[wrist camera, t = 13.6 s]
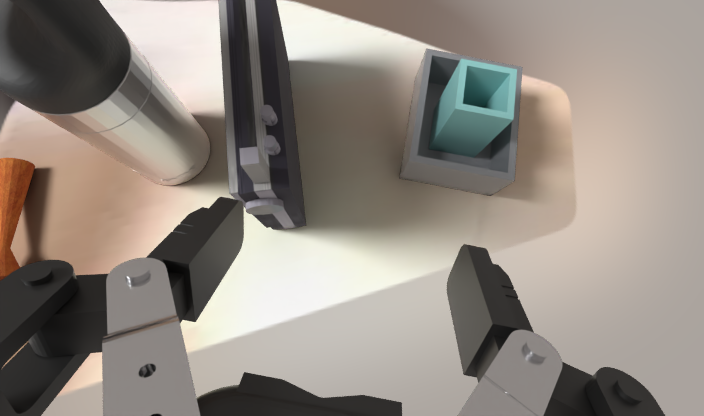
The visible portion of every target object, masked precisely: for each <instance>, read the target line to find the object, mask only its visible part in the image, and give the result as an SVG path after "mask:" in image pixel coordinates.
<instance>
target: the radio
mask: <svg viewBox="0 0 704 416" xmlns="http://www.w3.org/2000/svg"><path fill="white" fill-rule="evenodd" d="M218 1H219V19H220V36H221V54H222V71H223V89H224V106H225V124H226V141H227V158H228V176H229V193H230V194H231V195H232V196H233V197H234V198H235V199H236V200H240V201H242V202H243V206H244V207H245V208H246V212H247V213H249V214H252V215H253V216H255V217H256V218H257V219H258V220H259V221H260V222H261V223H262V224H263V225H264V226H265V227H266V228H267V227H271V228H272V229H273V230H274V229H287V228H295V227H300V226H305V225H306V219H305V210H304V201H303V192H302V183H301V174H300V165H299V156H298V147H297V138H296V129H295V119H294V110H293V101H292V92H291V83H290V74H289V65H288V56H287V52H286V47H285V42H284V37H283V32H282V27H281V22H280V17H279V13H278V8H277V3H276V0H218Z"/></svg>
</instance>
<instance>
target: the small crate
mask: <svg viewBox="0 0 704 416" xmlns="http://www.w3.org/2000/svg"><path fill="white" fill-rule="evenodd" d="M516 78H517V69H513V68H508V67H502V66H497V65H492V64H487V63H482V62H477V61H471V60H466V59H461V60H460V62H459V64H458V66H457V68H456V69H455V71H454V73H453V75H452V77H451V79H450V80H449V82H448V84H447V86H446V88H445V90H444V92H443V93H442V95H441V97H440V99H439V101H438V103H437V105H436V106H435V108H434V115H433V122H432V129H431V136H430V143H429V149H431V150H436V151H441V152H446V153H451V154H457V155H462V156H467V157H472V158H474V157H475V156H476V155H477V154H478V153H479V152H481V151H482V150H483V149H484V148H485V147H486V146H487V145H488V144H489V143H490V142H491V141H492V140H493V139H494V138H495V137H496V136H497V135H498V134H499V133H500V132H501V131H502V130H503V129H504V128H505V127H506V126H507V125H509V124H510V123H511V122H512V121H513V118H514V105H515V91H516Z"/></svg>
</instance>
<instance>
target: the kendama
mask: <svg viewBox="0 0 704 416" xmlns="http://www.w3.org/2000/svg"><path fill="white" fill-rule="evenodd" d="M34 168H35V166H34V164H32V163H30V162H28V161H25V160H22V159H16V158H1V159H0V281H1V280H3V279H4V278H5V277H7V276H8V275H9V274H11V273H12V272H14V271H15V270H17V269H19V268H20V267H19V265H18V263H17V261H16V259H15V257H14V255H13V253H12V251H11V249H10V247H11V244H12V240H13V237H14V234H15V231H16V227H17V224H18V221H19V217H20V214H21V211H22V208H23V204H24V201H25V198H26V194H27V191H28V188H29V185H30V181H31V178H32V175H33V171H34Z"/></svg>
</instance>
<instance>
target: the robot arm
mask: <svg viewBox="0 0 704 416" xmlns="http://www.w3.org/2000/svg"><path fill="white" fill-rule="evenodd" d="M0 90H1V91H2V92H3V93H5V94H6V95H8V96H10V97H11V98H13V99H15V100H16V101H18V102H20V103H21V104H23V105H25V106H26V107H28V108H30V109H32V110H33V111H35V112H37V113H38V114H40V115H42V116H43V117H45V118H47V119H48V120H50V121H52V122H53V123H55V124H57V125H59V126H60V127H62V128H64V129H66V130H67V131H69V132H71V133H72V134H74V135H76V136H77V137H79V138H80V139H82V140H84V141H85V142H87V143H89V144H90V145H92V146H94V147H95V148H97V149H99V150H100V151H102V152H104V153H105V154H107V155H109V156H110V157H112V158H114V159H115V160H117V161H119V162H120V163H122V164H124V165H125V166H127V167H129V168H130V169H132V170H134V171H135V172H137V173H139V174H140V175H142V176H144V177H145V178H147V179H149V180H150V181H153V182H155V183H157V184H161V185H177V184H181V183H184V182H187V181H189V180H190V179H192V178H194V177H195V176H196V175H197V174H198V173H200V172H201V170H202V169H203V168H204V166H205V165H206V163H207V161H208V159H209V154H210V142H209V138H208V136H207V134H206V132H205V131H204V130H203V128H202V127H201V126H200V125H199V123H198V122H197V121H196V120H195V119H194V117H193V116H192V115H191V113H190V112H189V111H188V110H187V109H186V107H185V106H184V105H183V104H182V102H181V101H180V100H179V99H178V98H177V96H176V95H175V94H174V93H173V91H172V90H171V89H170V88H169V86H168V85H167V84H166V83H165V82H164V80H163V79H162V78H161V77H160V75H159V74H158V73H157V72H156V71H155V69H154V68H153V67H152V66H151V64H150V63H149V62H148V61H147V60H146V58H145V57H144V56H143V55H142V54H141V53H140V51H139V50H138V49H137V48H136V46H135V45H134V44H133V43H132V42H131V40H130V39H129V38H128V37H127V35H126V34H125V33H124V32H123V31H122V29H121V28H120V27H119V26H118V24H117V23H116V22H115V21H114V20H113V18H112V17H111V16H110V14H109V13H108V12H107V11H106V9H105V8H104V7H103V5H102V4H101V3H100V1H99V0H0ZM243 236H244V222H243V202H242V201H240V200H235V199H230V198H225V197H219V198H218V199H217V200H216V201H215V202H214V204H213V205H212V206H211V207H210V208H209V209H208V208H203V207H202V208H200V209H198V210H196V211H194V212H192V213H190V214H189V215H188V216H187V217H186V218H185V219H184V220H183V221H182V222H181V224H180V225H178V226H177V227H176V228H175V229H174V230H173V232H171V233H170V234H169V235H168V236H167V237H166V238H165V239H164V240H163V241H162V242H161V243H160V244H159V245H158V246H157V247H156V248H155V249H154V250H153V251H152V252H151V253H150V254H149V255H148V256H147V257H146V258H137V259H132V260H129V261H126V262H124V263H122V264H120V265H118V266H116V267H115V268H114V269H113V270H112V271H111V272H110V273H109V274H97V275H75V273H74V270H73V267H72V266H71V264H69V263H67V262H65V261H61V260H45V261H39V262H35V263H31V264H28V265H26V266H23V267H21V268H19V269H17V270H15V271H14V272H12V273H11V274H9V275H8V276H7V277H5V278H4V279H3V280H1V281H0V416H41V415H42V414H43V412H44V411H45V410H46V408H47V407H48V406H49V405H50V403H51V402H52V401H53V400H54V398H55V397H56V396H57V395H58V393H59V392H60V391H61V390H62V388H63V387H64V386H65V385H66V383H67V382H68V381H69V380H70V378H71V377H72V376H73V375H74V373H75V372H76V371H77V370H78V368H79V367H80V366H81V364H82V363H83V362H84V361H85V359H86V358H87V357H88V356H89V354H90V353H96V352H102V364H103V416H402V403H401V402H396V401H391V400H386V399H381V398H375V397H370V396H365V395H358V396H344V397H331V398H321V397H317V396H315V395H313V394H311V393H309V392H307V391H305V390H303V389H301V388H299V387H297V386H295V385H293V384H291V383H289V382H287V381H285V380H282V379H277V378H272V377H266V376H261V375H256V374H251V373H246V372H244V374H243V377H242V379H241V382H240V384H239V385H233V386H228V387H223V388H219V389H216V390H213V391H211V392H208V393H206V394H204V395H201V396H200V397H198V398H196V394H195V389H194V385H193V380H192V376H191V371H190V367H189V362H188V358H187V353H186V349H185V344H184V340H183V335H182V331H181V326H180V323H181V321H182V320H187V321H192V322H196V320H197V319H198V317H199V316H200V314H201V312H202V311H203V309H204V308H205V306H206V304H207V303H208V301H209V300H210V298H211V296H212V295H213V293H214V292H215V290H216V288H217V287H218V285H219V284H220V282H221V280H222V279H223V277H224V276H225V274H226V272H227V271H228V269H229V268H230V266H231V264H232V263H233V261H234V260H235V258H236V256H237V255H238V253H239V251H240V249H241V246H242V243H243ZM447 295H448V300H449V305H450V310H451V315H452V320H453V325H454V330H455V334H456V339H457V344H458V349H459V354H460V359H461V364H462V369H463V374H464V375H467V376H472V377H477V379H478V385H477V386H476V388H475V389H474V391H473V393H472V394H471V396H470V397H469V399H468V400H467V402H466V403H465V405H464V406H463V408H462V410H461V411H460V413H459V415H458V416H665V414H664V413H663V411H662V410H661V408H660V407H659V405H658V403H657V402H656V400H655V399H654V397H653V396H652V395H651V393H650V392H649V391H648V390H647V389H646V388H645V387H644V386H643V385H642V384H641V383H640V382H638V381H637V380H636V379H634V378H633V377H631V376H630V375H628V374H626V373H624V372H623V371H620V370H618V369H615V368H610V367H603V368H601V369H599V370H598V371H597V372H596V373H595V374H594V375H593V376H592V375H590V374H588V373H585V372H583V371H581V370H579V369H576V368H574V367H572V366H570V365H568V364H566V363H564V362H562V359H561V357H560V355H559V353H558V352H557V350H556V349H555V348H554V347H553V346H552V345H551V344H550V343H549V342H548V341H547V340H546V339H544V338H543V337H541V336H539V335H538V334H535V333H534V332H533V330H532V327H531V325H530V323H529V320H528V318H527V316H526V314H525V312H524V309H523V307H522V305H521V303H520V300H518V296H517V294H516V291H515V290H514V287H513V285H512V283H511V280H510V278H509V276H508V275H507V274H506V273H505V272H504V271H503V270H502V268H501V267H500V266H499V265H496V264H492V261H491V259H490V256H489V254H488V251H487V250H486V249H485V248H481V247H476V246H471V245H465V244H464V245H463V246H462V247H461V249H460V251H459V253H458V256H457V258H456V261H455V263H454V265H453V268H452V270H451V272H450V275H449V278H448V282H447ZM27 341H29V342H28V343H27V344H26V345H25V346H24V347H23V348H22V349H21V350H20V351H19V352H18V353H17V354H16V355H15V356H14V357H13V358H12V359H11V360H10V361H9V362H8V363H7V364H6V365H5V366H4V367H3V365H4V364H5V363H6V362H7V361H8V360H9V359H10V358H11V357H12V356H13V355H14V354H15V353H16V352H17V351H18V350H19V349H20V348H21V347H22V346H23V345H24V344H25V343H26V342H27ZM2 367H3V368H2Z"/></svg>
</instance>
